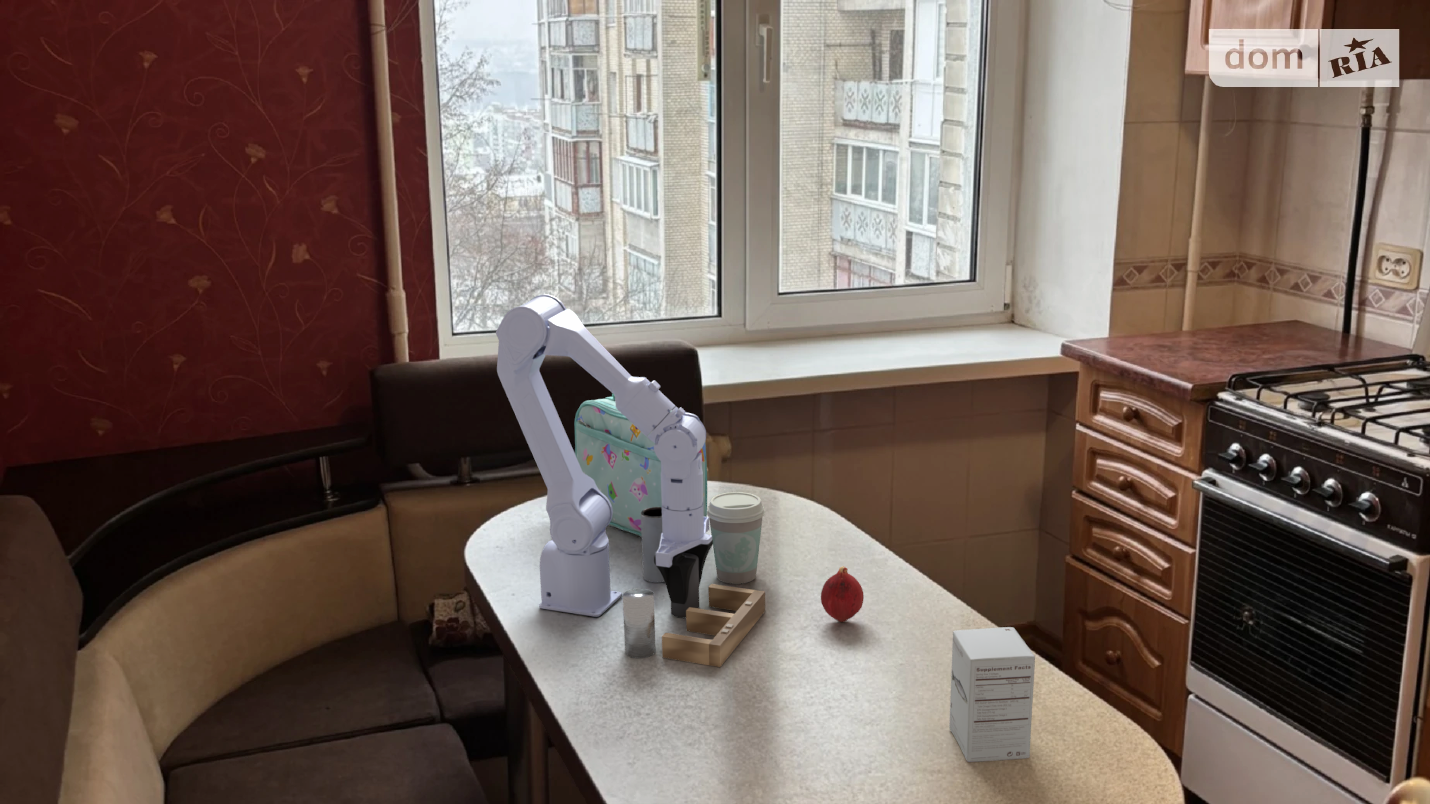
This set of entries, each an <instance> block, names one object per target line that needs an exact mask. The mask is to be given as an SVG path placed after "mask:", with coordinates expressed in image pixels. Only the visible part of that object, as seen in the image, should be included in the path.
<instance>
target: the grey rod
mask: <svg viewBox="0 0 1430 804" xmlns="http://www.w3.org/2000/svg"><path fill="white" fill-rule="evenodd" d="M622 607H623V609H622V610H623V612H622V613H623V630H624V632H623V635H624V636H623V637H624V638H623V639H624V653H625V655H626V656H627V657H630V658H633V659H645V658H648V657H651V656H653V655H654V654H655V653H656V623H655V622H656V621H655V619H656V618H655V593H654V592H653V591H652V590H651V589H649V588H648V589H647V588H632V589H631V588H630V589H628V590H626V591H624V592H622Z"/></svg>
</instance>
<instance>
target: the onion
mask: <svg viewBox="0 0 1430 804" xmlns="http://www.w3.org/2000/svg"><path fill="white" fill-rule="evenodd" d="M848 569H849V568H847V567H846V566H844V565H842V566H840V567H839V569H838V571H837V572H836V573H835V574H833V575H831V576H830V577H828V578H827V579H826V581H825V582H824V584H823V586H822V589H821V593H820V602H821V605H822V607H823V609H824V611H825V613H827V614H828V616H830V617H831V618H832V619H834V620H836V621H838V622H839V623H845V622H847V621H849V620H850V619H852V618H853V617H854V616H855V615H857V614H858V613H859V612H860V611H861V609H862V608H863V604H864V596H865V595H864V591H863V590H864V589H863V587H862V585H861V583H860V582H859V581H858V580H857V578H856V577H854V575H852V574H850V573H849V572H848V571H849V570H848Z"/></svg>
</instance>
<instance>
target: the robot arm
mask: <svg viewBox="0 0 1430 804" xmlns="http://www.w3.org/2000/svg"><path fill="white" fill-rule="evenodd" d="M495 334H496V337H497V340H498V349H497V361H496V362H497V364H496V365H497V366H496V372H497V376H498V378H499V380H500V382H501V385H502V388H503V390H504V392H505V394H506V397H507V398H508V401H509V403H510V406H511V408H512V410H513V412H514V414H515V417H516V420H517V422H518V424H519V426H520V429H521V432H522V434H523V436H524V438H525V441H526V443H527V444H528V448H529V450H530V452H531V453H532V456H533V458H534V459H533V460H535V463H536V465H537V467H538V470H539V473H540V474H541V477H542V479H543V481H544V485H545V486H546V488H547V495H546V504H545V510H546V512H547V515H548V517H549V534H550V537H551V540H548V541H547V542H546V544H545V545H544V547H543V548H542V550H541V554H540V558H539V579H540V580H539V581H540V596H541V602H540V603H539V604H538V607H539V609H543V610H550V611H555V612H561V613H562V612H563V613H569V614H575V615H581V616H589V617H595V618H598V617H600V616H601V615H603V614H604V613H605V612H606V611H607V610H608V609H609V608H610V607H612V606H613V605H614V604H615V602H617V601H618V600H619V599H620V598H621V597H623V592H621V591H616V590H612V589H611V569H610V565H611V564H610V544H609V537H608V534H607V532H606V528H607V527H608V526H610V525H609V523H610V522H611V519H612V516H613V509H612V505H611V503H610V501H609V500H608V498H607V497H606V496H605V495H604V494H603V493H601V492H600V490H599V489H598V488H597V486H596V484H595V481H594V480H593V479H592V478H591V477H589V476H588V475H586V474H584V473H583V472H582V469H581V467H580V465H579V462H578V460H577V458H576V455H575V450H574V449H573V447H572V444H571V442H570V439H569V437H568V435H567V433H566V432H567V431H566V430H565V428H564V426H563V425H564V424H562V421H561V418H560V417H559V414H558V411H557V409H556V407H555V405H554V402H553V400H552V397H551V395H550V392H549V390H548V389H547V386H546V383H545V381H544V379H543V376H542V374H541V372H540V368H541V366H542V365H543V361H544V359H545V358H546V356H555V357H568V358H570V359H572V360H573V361H574V362H576V363H577V365H579V367H582V368H583V369H584V370H585V371H586V372H587V373H588V374H590V375H591V376H592V377H593V378H594V379H596V381H598V382H599V383H600V384H601V385H602V386H604V387H605V388H606V389H607V390H608V391H610V392H611V394H612V393H613V394H614V396H615V403H616V408H617V409H618V410H619V411H620V412H621V413H622V414H623V415H624V416H625V417H626V418H627V419H628V420H629V421H630V422H631V423H632V424H633V425H635V426H636V427H637V428H638V429H639V430H640V431H641V432H642V433H643V434H644V435H645V436H646V437H647V436H648V437H647V438H648V439H649V440H651V441H652V442H654V443H655V444H656V445H654V451H655V454H656V456H657V457H658V459H659V460H660V461H661V497H662V534H661V538H660V545H659V549H658V551H657V552H656V555H655V556H654V564H655V565H656V566H657V568H658V569H659V571H660V572H661V574H662V576H663V579H664V581H665V582H664V583H665V586H666V591H667V593H668V594H667V595H668V597H669V600H670V601H669V602H670V604H671V603H678V604H685V603H686V601H687V597H688V589H689V580H690V575H691V571H692V568H693V566H694V563H695V561H696V559H693V558H685V555H683V553H690V554H694V555H696V556H698V561H699V587H700V586H701V581H702V577H703V570H704V568H705V564H706V561H707V558H708V556H709V555H708V554H709V552H710V550H711V549H712V548H713V540H712V535H711V534H708V533H707V532H708V531H710V521H709V517H708V516H707V517H704V508H703V471H702V453H698V452H699V451H700V450H701V448H702V447H703V445H704V443H705V444H706V440H707V430H706V427H705V426H704V423H703V422H702V421H701V420H700V418H699V416H698V415H696V414H694V413H690V412H686V410H684V408H682V406H681V407H677V406H676V405H675V404H674V403H673V402H672V401H671V400H670V399H669V398H668V397H667V396H666V395H664V393H662V391H661V390H659V389H660V388H661V385H660V384H659V383H658V382H657V381H656V380H652V381H650V380H649V379H647V377H645V376H640V377H639V376H632V375H631V373H629V372H628V371H627V370H626V369H625V368H624V367H623V365H622V364H620V362H619V361H618V360H616V358H615V357H614V356H613V355H612V354H611V353H610V352H609V351H608V350H607V349H606V347H604V346H603V345H602V344H601V342H600V341H598V339H597V338H596V337H595V336H594V335H593V334H592V333H591V332H590V330H589V329H587V327H585V325H584V324H583V323H582V321H581V319H580V318H579V317H578V315H577V313H576V312H574V311H573V310H572V309H570V308H566V306H565V304H564V303H563V301H562V300H561V299H559V298H558V297H556V296H554V295H551V294H548V293H545V294H544V293H543V294H538V295H536V296H534V297H533V298H531V299H530V300H529V301H526V302H525V303H523V304H521V305H518V306H515V307H513V308H511V309H509V310H508V311H507V312H506V313H505V315H504V316H503V317H502V320H501V321H500V324H499V325H498V327H497V329H496V330H495ZM671 410H672V411H671ZM670 411H671V412H670ZM651 431H652V432H651ZM650 432H651V433H650ZM649 433H650V434H649Z"/></svg>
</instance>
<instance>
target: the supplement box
mask: <svg viewBox="0 0 1430 804" xmlns="http://www.w3.org/2000/svg"><path fill="white" fill-rule="evenodd" d="M951 646H952V648H951V652H952V653H951V673H950V674H951V675H950V696H949V697H950V699H949V701H950V703H949V722H948V723H949V726H948V727H949V730H950V732H951V733H952V735H953V737H954V739H955V740H956V742H957V743H958V746H959V748H960V750H961V751H962V754H963V756H964V759H965V760H966V761H967V763H973V762H975V763H977V762H990V761H991V762H992V761H1006V760H1021V759H1028V758H1030V756H1031V755H1030V754H1031V737H1032V736H1031V733H1032V719H1033V718H1032V716H1033V700H1034V686H1035V685H1034V684H1035V665H1036V657H1035V656H1036V655H1035V654H1034V653H1033V652H1032V650H1031V649H1030V647H1029V646H1028V645H1027V644H1026V642H1025V640H1024V639H1023V638H1022V637H1021V635H1020V634H1019V632H1018V631H1017V630H1016V629H1015V627H1011V626H1007V627H1006V626H1005V627H1003V626H1002V627H986V628H973V629H958V630H957V629H956V630H953V631H952V645H951Z"/></svg>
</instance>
